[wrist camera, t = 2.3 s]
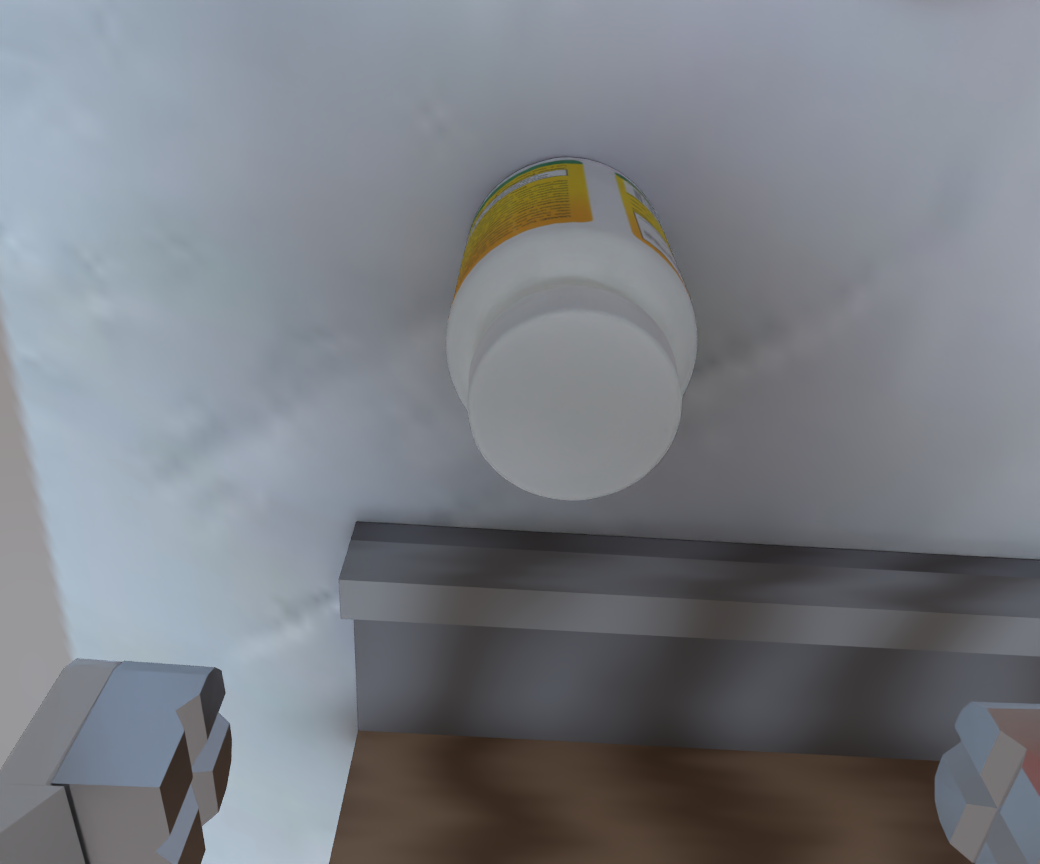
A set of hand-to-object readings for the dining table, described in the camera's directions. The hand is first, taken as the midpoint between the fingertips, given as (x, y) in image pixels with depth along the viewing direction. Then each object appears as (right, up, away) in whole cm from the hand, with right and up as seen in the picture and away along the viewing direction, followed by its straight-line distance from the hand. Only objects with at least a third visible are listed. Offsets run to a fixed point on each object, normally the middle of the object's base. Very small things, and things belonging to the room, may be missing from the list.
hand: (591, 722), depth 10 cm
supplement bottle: (0, +8, +15) cm, 17 cm away
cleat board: (+6, -5, +22) cm, 23 cm away
